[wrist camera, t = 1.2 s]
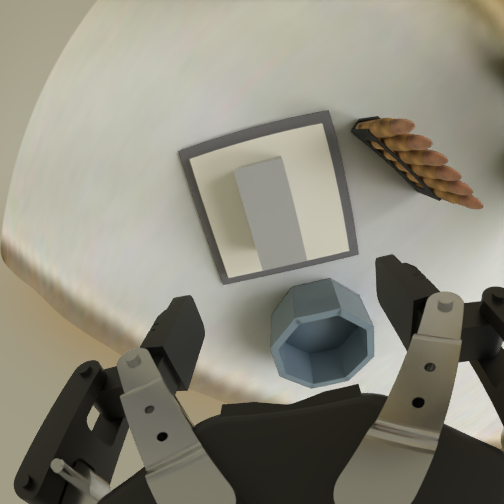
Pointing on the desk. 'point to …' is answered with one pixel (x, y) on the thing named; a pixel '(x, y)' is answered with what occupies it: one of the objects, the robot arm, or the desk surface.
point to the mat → (257, 133)
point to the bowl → (321, 334)
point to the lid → (272, 200)
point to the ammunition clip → (415, 159)
